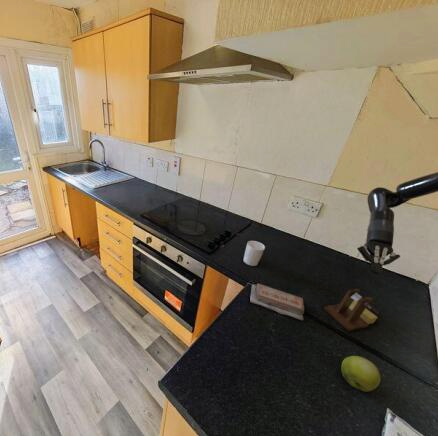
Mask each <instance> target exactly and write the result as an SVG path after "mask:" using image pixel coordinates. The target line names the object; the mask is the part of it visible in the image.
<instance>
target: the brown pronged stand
mask: <svg viewBox="0 0 438 436" xmlns="http://www.w3.org/2000/svg"><path fill="white" fill-rule="evenodd" d="M360 292H361V290H360V289H359V288H354V289H353V288H352V289H348V290H347V292H346V293H345V295H344V296H343V298H342V300H340V303H337V304H331V305H326V306H324V307H323V310H324V311H325V312H327V314H329V315H330V316H331V317H332V318H333V319H334V320H335V321H336V322H337V323H339V325H341V326H342V327H344V328H345V330H347V332H353V331H356V330H362V329H366V328H369V326H370V324H368V323H366V322H365V321H364V320H363V319H361V318H360V316H361V314H362V313H363V312H364V310H365V309H367V308H366V307H367V306H368V304H370V303H371V302H372V300H373V298H372V297H370V296H366V297H363V298H361V299H359V301H358V302H357V304H356V305H355V307H354V308H353V310H352V311H351V310H350V309H349V307H350V305H351V304H352V302H353V301H355V300H354V299H352V298H351V296H352V295H353V294H355V293H357V294H359V293H360Z"/></svg>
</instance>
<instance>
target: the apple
mask: <svg viewBox="0 0 438 436" xmlns="http://www.w3.org/2000/svg"><path fill="white" fill-rule="evenodd" d="M340 368H341V374H342V377H343V379H344V380H345V381H346V382H347V383H348V384H349V386H351V387H352V388H354V389H357V390H359V391H362V392H366V393H367V392H372V391H374V390H375V389H377V388H378V386H379V385H380V383H381V379H382V378H381V373H380V371H379V369H378V367H377V366H376V364H374V363H373V362H372V361H370V360H369V359H367V358H365V357H362V356H359V355H350V356H346V357H345V358H344V359H343V360H342V362H341V367H340Z"/></svg>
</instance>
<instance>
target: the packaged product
mask: <svg viewBox="0 0 438 436" xmlns="http://www.w3.org/2000/svg"><path fill="white" fill-rule="evenodd" d="M249 299H250V302H249V303H252V304H255V305H257V306H261V307H264V308H266V309H268V310H271V311H274V312H276V313H278V314H280V315H285V316H289V317H291V318H294V319H296V320H299V321H304V313H305V305H304V298H303V297H300V296H298V295H294V294H292V293H288V292H286V291H282V290H280V289H276V288H274V287H270V286H267V285H264V284H262V283H256V284H254V283H252V285H251V289H250V298H249Z"/></svg>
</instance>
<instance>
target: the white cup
mask: <svg viewBox="0 0 438 436" xmlns="http://www.w3.org/2000/svg"><path fill="white" fill-rule="evenodd" d="M265 249H266V246H265V245H264V244H263V243H261V242H259V241H257V240H249V241H247V242H246V247H245V250H244V255H243V263H245V264H246V265H248V266H251V267H256V266H258V265H259V262H260V261H261V259H262V256H263V254H264V252H265Z"/></svg>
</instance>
